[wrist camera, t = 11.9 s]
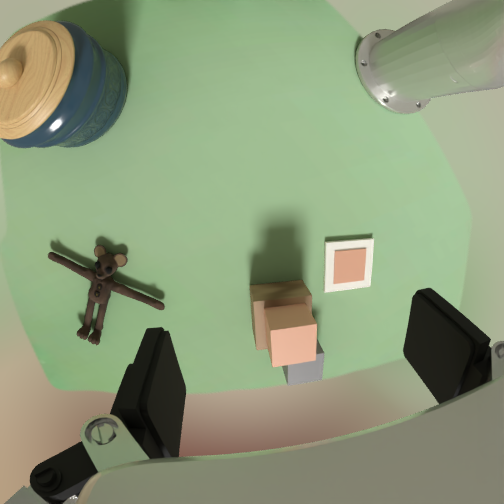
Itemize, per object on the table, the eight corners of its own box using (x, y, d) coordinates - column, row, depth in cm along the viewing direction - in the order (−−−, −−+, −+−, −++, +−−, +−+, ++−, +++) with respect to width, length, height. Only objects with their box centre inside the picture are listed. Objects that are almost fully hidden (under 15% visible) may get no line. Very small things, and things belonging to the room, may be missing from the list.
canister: (82, 38, 27) (12, -14, 11) (150, 80, 31) (98, 26, 14) (28, 118, 30) (-62, 112, 13) (89, 166, 33) (3, 181, 16)
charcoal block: (314, 333, 43) (324, 353, 39) (313, 359, 45) (321, 379, 40) (281, 338, 43) (287, 358, 38) (281, 364, 45) (287, 385, 40)
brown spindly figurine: (35, 317, 35) (43, 230, 31) (47, 302, 39) (60, 219, 35) (142, 367, 39) (172, 289, 35) (148, 348, 43) (178, 272, 39)
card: (371, 237, 40) (374, 239, 39) (368, 284, 42) (370, 287, 41) (324, 241, 39) (326, 243, 38) (323, 290, 41) (325, 293, 40)
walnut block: (301, 279, 41) (311, 295, 36) (301, 323, 43) (310, 343, 38) (249, 284, 40) (253, 301, 35) (252, 329, 42) (256, 350, 37)
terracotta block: (305, 302, 36) (317, 323, 31) (305, 337, 38) (315, 360, 33) (264, 308, 36) (270, 330, 31) (266, 342, 37) (272, 367, 32)
